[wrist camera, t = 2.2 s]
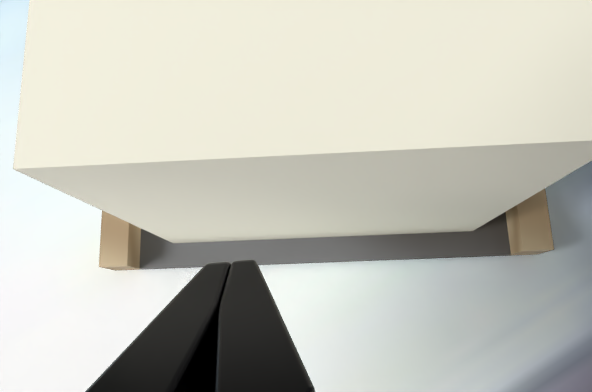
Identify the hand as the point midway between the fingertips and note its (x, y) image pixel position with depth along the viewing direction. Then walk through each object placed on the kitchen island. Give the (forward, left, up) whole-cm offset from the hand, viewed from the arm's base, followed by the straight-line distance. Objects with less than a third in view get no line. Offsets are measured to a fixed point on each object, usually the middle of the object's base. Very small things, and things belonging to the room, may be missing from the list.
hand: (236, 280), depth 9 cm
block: (+3, -3, -10) cm, 11 cm away
